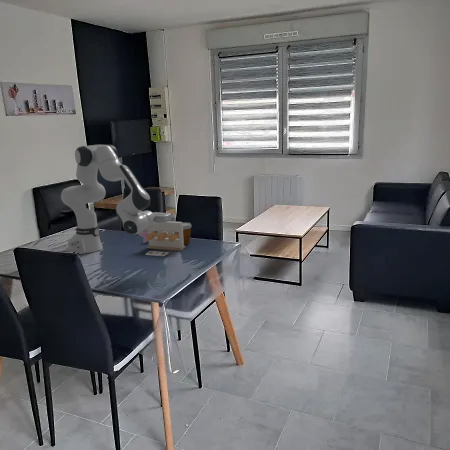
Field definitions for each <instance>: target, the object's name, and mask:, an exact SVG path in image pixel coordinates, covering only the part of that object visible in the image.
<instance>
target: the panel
mask: <svg viewBox="0 0 450 450" xmlns="http://www.w3.org/2000/svg"><path fill="white" fill-rule="evenodd" d="M182 223H183V222H182V221H171V220H170V221H168V222H165V223H157V222H155V224H154V226H152V227H151V228H149V229H148V234H150V233H152V231H155V232H156V233H157V236H158V235H160V234H162V233H163V232H166V233H167V234H168V237H169V236H170V235H172V234H174V233H177V232H179V238H177V239H176V240H174V241H173V242H170V241H169V240H168V237H167V238H165V239H164V240H162V241H159V240H158V239H157V237H155V238H153V239H152V240H149V241H148V246H147V247H146V248H147V249H152V250H153V249H155V250H165V251H178V252H179V251H181V252H182V251H183V250H184V249H185V248H187V247H186V245H184V240H183V224H182Z"/></svg>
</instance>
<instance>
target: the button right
mask: <svg viewBox="0 0 450 450" xmlns="http://www.w3.org/2000/svg"><path fill="white" fill-rule="evenodd" d="M173 233H174V234H172V235H170V236H169V237H167V238H168V240H169V241H170V242H173V241H174V240H176V239H179V238H178V237H179V235H178V233H177V232H173Z"/></svg>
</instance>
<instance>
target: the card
mask: <svg viewBox="0 0 450 450" xmlns="http://www.w3.org/2000/svg"><path fill="white" fill-rule="evenodd" d="M169 254H170V252H168V251H157V250H156V251H154V250H149V251H147V252H146V253H145V254H144V255H145V256H154V257H155V256H156V257H165V256H166V255H169Z"/></svg>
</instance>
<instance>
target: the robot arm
mask: <svg viewBox="0 0 450 450" xmlns="http://www.w3.org/2000/svg"><path fill="white" fill-rule="evenodd" d="M118 156H119V154H118V149H117V148H116V146H114V145H113V144H93V145H81V146H79V147H77V148H76V150H75V152H74V158H75V162H76V163H77V166H76V171H75V172H76V173H75V177H76V180H78V182H80V183H81V184H79V185H72V186H71V185H70V186H68V187H66V188H64V189H62V191H61V194H60V199H61V201H62V202H63V204H64V205H65V206H67V207H69V208H70V209H71V210H72V211H73V212H74V215H75V218H76V224H77V227H76V228H75V229H74V230H73V231H76V232H75V234H74V235H73V236H72V237H70V238H69V239H68V242H67V247H65V248H64V252H67V253H72V252H75V253H74V254H77V253H79V255H84V254H89V253H95V252H100V251H101V250H103V245H102V242H101V239H100V229H99V225H98V219H97V213H96V212H95V211H94V210H92V209H90V208H87V206H86V205H87V204H90V203H91V204H92V203H96V202H99V201H102V200H104V198H105V197H106V194H107V193H106V191H107V190H106V189H105V187H104V185H103V184H102V183H100V182H99V181H98V172H99V173H100V175H101V177H102V178H103V179H104V180H105V181H109V182H118V181H122V180H124V181H125V182H126V184H127V186H128V187H129V189H130V193H129V194H128V195H127V196H126V197H125V198H124V199H122V200H121V201H120V202H119V203H117V204H116V206H115V213H116V216H117V218H118V219H119V221H120V222H122V227H123V231H124V232H126V233H127V234H128V235H134V236H135V235H137V234H138V235H139V233H141V232H144V231H145V230H147V229H149V228H151V227H152V226H154V224H155V222H157V223H165V222H168V221H170V222H171V221H172V220H173V219H172V218H173V216H172V213H171V212H160V211H154V212H152V211H151V210H146V209H147V208H149V207H150V204H151V196H150V194H149V193H148V192H147V191H146V189H145V188H144V187H143V186H142V184H141V183H140V181H139V180H138V178H137V177H136V175H135V174H134V172H133V171H132V169H130V167H128V165H125V164H122V163H121V162H120V159H119V157H118Z"/></svg>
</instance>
